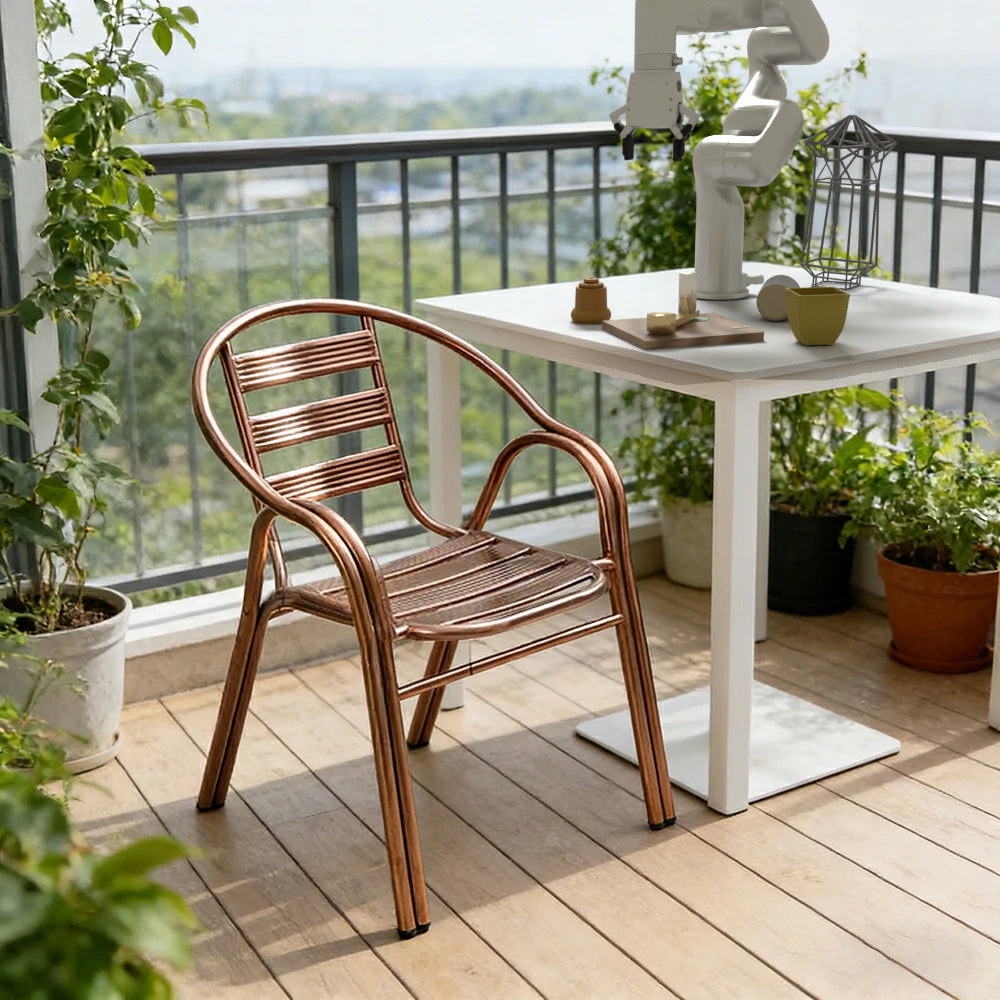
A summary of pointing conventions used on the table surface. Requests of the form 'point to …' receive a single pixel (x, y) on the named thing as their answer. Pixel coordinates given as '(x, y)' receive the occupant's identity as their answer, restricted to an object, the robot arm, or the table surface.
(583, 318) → the ornamental finial
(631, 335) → the brown flat wooden board
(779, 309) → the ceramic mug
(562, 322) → the table surface
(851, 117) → the geometric lantern
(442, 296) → the table surface
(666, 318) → the lever
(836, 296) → the flower pot
